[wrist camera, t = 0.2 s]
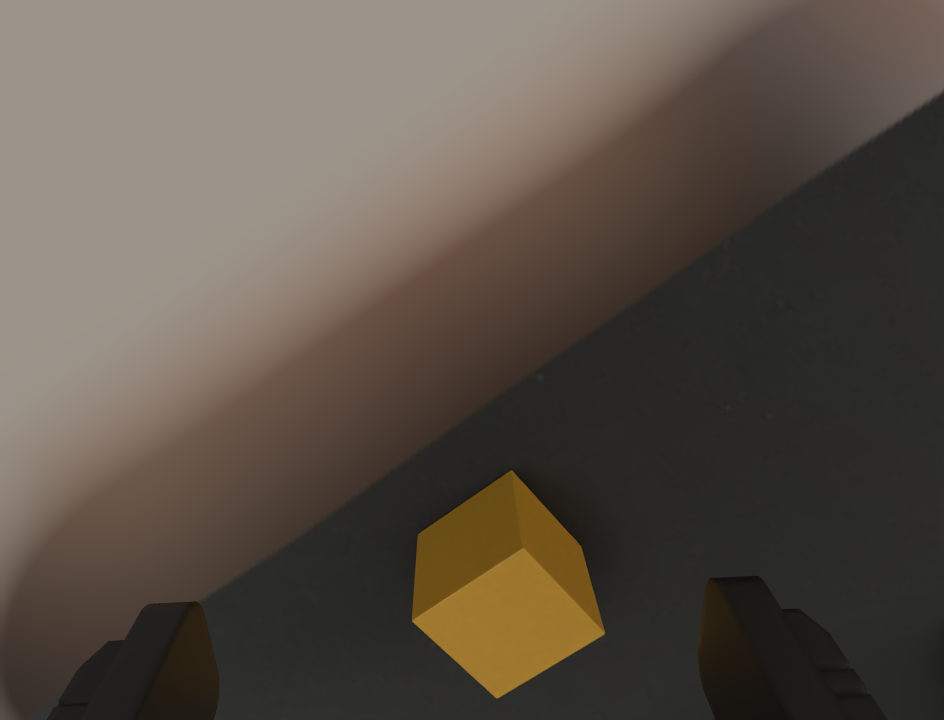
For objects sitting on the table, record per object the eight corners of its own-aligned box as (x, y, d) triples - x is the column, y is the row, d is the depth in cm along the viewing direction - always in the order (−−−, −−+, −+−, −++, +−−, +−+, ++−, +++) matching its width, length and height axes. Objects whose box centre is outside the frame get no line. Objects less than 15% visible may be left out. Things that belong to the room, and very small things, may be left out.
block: (511, 468, 28) (523, 548, 23) (581, 546, 30) (606, 634, 25) (417, 534, 29) (411, 621, 25) (489, 605, 31) (497, 699, 26)
